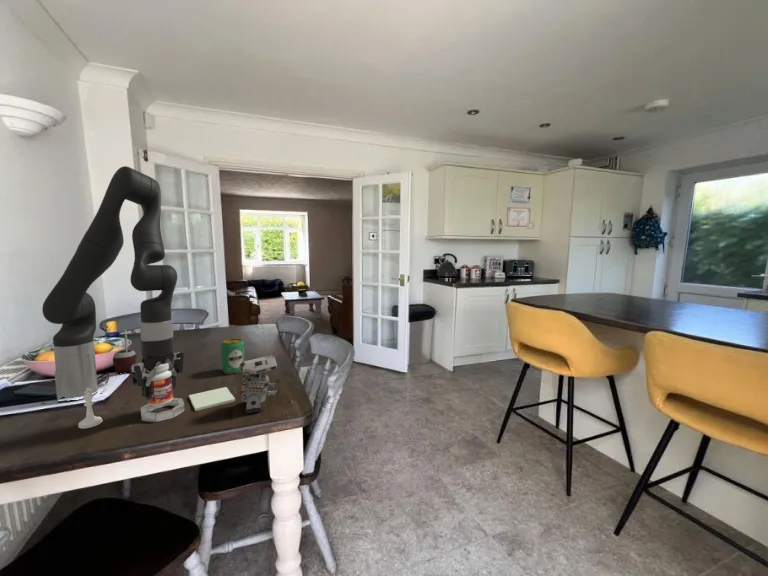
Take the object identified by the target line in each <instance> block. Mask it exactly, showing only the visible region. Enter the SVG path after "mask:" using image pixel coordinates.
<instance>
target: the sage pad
mask: <svg viewBox="0 0 768 576" xmlns="http://www.w3.org/2000/svg"><path fill="white" fill-rule="evenodd" d="M188 398H189V401H190V402H191V405H192V407H193V409H194V411H195V412H196V411H201V410H206V409H210V408H215V407H216V406H221V405H226V404H230V403H234V402H236V398H235V396H234V395H233V394H232V393H231V392H230V390H229V388H228V387H227V386H224V387H220V388H219V387H218V388H215V389H211V390H207V391H202V392H198V393H193V394H189V395H188Z"/></svg>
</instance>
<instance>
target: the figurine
mask: <svg viewBox="0 0 768 576" xmlns="http://www.w3.org/2000/svg"><path fill="white" fill-rule="evenodd" d="M239 366H240V370H241V371H242V372H241V373H242V379H241V384H242V386H241V389H240V395H241V396H240V397H241V399H240V400H241V401H242V402H244V403H246V407H245V414H247V413H249V414H253V413H255V412H257V413H260V412H262V406H261V403H264V402H265V401H266V400H267V399H266V398H267V396H268V397H269V396H276V393H280V389H281V387H278V388H277V389H276V390H272V391H271V390H268V387H271V388H275V386H276V385H277V384H279V383H280V379H279V378H277V379H276V380H275V382H273V383H271V382H270V377H269V375H266V374H264V373H266V372H270V371H273V370H277V369H278V364H277V360H276V357H275V356H274V355H272V354H271V355H270V354H269V355H266V356H262V357H256V358H254V359H249V360H245V361H244V362H242V363H241V364H240V365H239Z"/></svg>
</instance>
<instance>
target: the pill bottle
mask: <svg viewBox="0 0 768 576" xmlns="http://www.w3.org/2000/svg"><path fill="white" fill-rule="evenodd" d="M168 369H169V364H168V363H163V364H160V366H158V367H157V368H156V375H155V377H154V378H152V381H151V383H150V385H151V395H152V397H151V398H150V399H146V400H147V401H146V402H147V404H149V405H151V406H158V405H163V404H166V403H168V402H170V401H171V400H172V399H173V398H174V391H173V390H174V389H173V388H172V374H171V371H169V370H168ZM147 372H149V374H150V373H151V371H148V370H147ZM146 380H147V378H146Z"/></svg>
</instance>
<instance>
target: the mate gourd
mask: <svg viewBox="0 0 768 576" xmlns="http://www.w3.org/2000/svg"><path fill="white" fill-rule="evenodd" d="M127 334H128V332H127V329H124V344H125V345H124V346H125V349H123V350H118V351H116V352H115V353H114V354H113V356H112V363H113V366H114V368H115V371H116V375H117V374H119V375H121V374H120V373H122V374H125V373H124V372H126V374H131V372H130V365H132V364H134V365H136V364H137V358H138V356H137V353H136V352H135V351H134V350H133V349H128V336H127Z"/></svg>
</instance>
